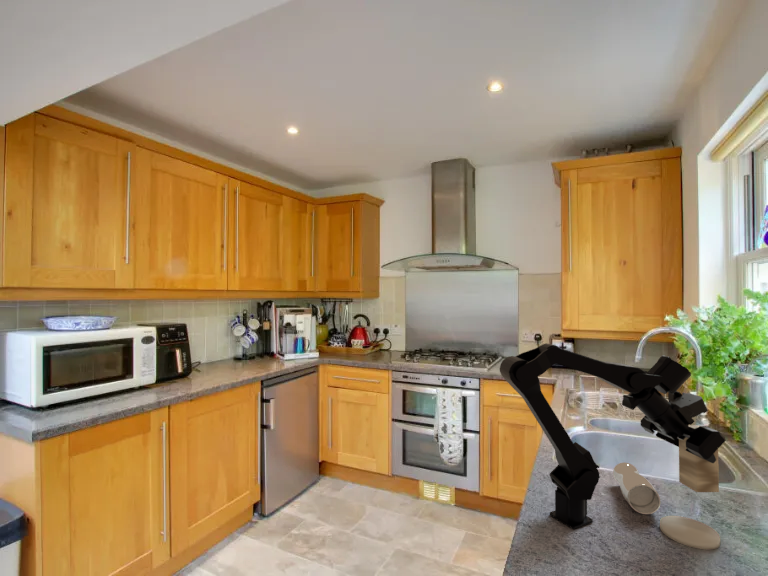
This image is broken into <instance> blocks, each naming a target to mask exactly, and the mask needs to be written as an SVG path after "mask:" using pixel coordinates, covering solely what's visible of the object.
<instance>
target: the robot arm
mask: <svg viewBox="0 0 768 576" xmlns="http://www.w3.org/2000/svg"><path fill="white" fill-rule="evenodd" d="M555 364H557V365H558V366H559V365H560V366H562V367H566V368H568V369H569V368H570V369H573V370H574V371H578V372H581V373H584V374H588V375H591V376H594V377H596V378H598V379H600V380H601V381H602V382H605V383H606V384H608V385H610V386H612V387H613V388H617V389H620V390H622V391H624V392H628V394H623V395H622V397H623V398H622V401H621V406H623V407H625V408H628V409H630V410H631V411H632V410H636V408H637V409H638V410H639V411H641V413H642V414H643V415H644V416H643V417H642V418H641V419H640V427H641V428H642V429H643V430H644V431H645V432H648V433H649V434H652V435H654V434H655V437H657V438H659V439H660V440H662V441H666V442H667V443H669V444H671V445H674V446H676V447H678V448H679V439H681V440H684V439H685V438H686V437H687V438H688V439H687V440H686V448H687V449H686V451H687V452H690V453H692V454H694V455H696V456H698V457H700V458H702V459H704V460H707V461H709V462H711V463H714V462H715V461H716V458H715V456H714V453H715V451H716V450H717V449H718V450H719V449H720V447H721V446H722V445H723V444H724V443H725V442H726V437H725V436H724V435H723V434H722V433H721V432H720V431H718V430H716V429H714V428H711V427H709V426H707V425H700V426H699V427H698V428H695V429H694V428H692V427H689V426H688V425H693V424H694V422H695V419H694V418H695V417H697V416H699V415H701V414H705V413H707V412H708V411H709V409H708V407H707V405H706V404H705V401H704V399H703V397H702V396H700V395H696V394H692V393H689V392H687V393H685V392H682V393H681V392H680V391H678V390H680V388H681V387H682V386H683V385H684V384H685V383H686V382H687V381H688V380H689V378H690V377H691V376H692V373H691V371H690V370H689V369H688V368H687V367H685V366H683V364H680V363H679V362H678V361H675V360H673V359H672V358H671V357H670V356H666V355H661V356H660V357H659V358H658V360H657V361H656V363H655V364H654V365H652V367H651V368H650V369H649V370H648V371H646V370H643V369H642V368H639V367H636V366H632V365H629V364H625V363H621V362H614V361H605V360H603V361H602V360H599V359H595V358H592V357H589V356H585V355H582V354H580V353H576V352H573V351H570V350H567V349H564V348H561V347H560V346H558V345H555V344H551V343H543V344H541V345H539V346H537V347H535V348H533V349H530V350H527V351H524V352H522V353H520V354H517V355H516V356H513V355H512V356H508V357H505V358H504V359H503V360H502V361H501V363H500V366H499V372H500V375H501V377H502V378H503V379H504V380H505V381H506V382H507V383H508V384H509V386H511V387H512V388H513V390H515V391H516V393H518V395H519V396H520V397H521V398H522V399H523V401H524V402H525V404H526V405H527V408H528V409H529V410H530V412H531V413H532V416H533V417H534V418H535V420H536V421H537V423H538V425H539V426H540V428H541V429H542V431H543V433H544V434H545V436H546V438H547V439H548V441H549V443H550V444H551V446H552V447H553V449H554V453H555V459H556V461H557V465H556V466H555V468H553V469H552V470H551V471H550V472H549V477H550V480H551V483H553V484H554V485H555V486H556V489H555V490H554V502H555V503H554V507H555V508H554V510H552V511H550V512H549V516H550V517H552V518H553V519H556V520H557V521H559V522H560V523H563V524H564V525H565V526H567V527H569V528H570V529H573V530H575V529H577V528H578V529H579V528H581V527H584V526H586V525H589V524H592V523H593V522H594V520H593V518H591V517H589V516H588V501H590V500H592V498H593V495H594V491H595V488H596V486H597V485H598V483H599V481H600V480H599V479H600V477H601V474H600V471H599V470H598V469H600V465H598V464H597V463H596V462H595V461H594V459H593V455H592V453H591V452H590V451H589V450H588V449H587V448H585V447H584V446H582V445H581V444H579V443H578V442H577V441H574V442H573V441H572V438H571V437H570V435H569V434H568V433H567V430H566V429H565V428H564V426H563V424H562V423H561V421H560V420H559V419H560V418H558V416H557V415H556V413H555V411H554V410H553V409H552V407H551V405H550V404H549V401H548V400H547V398H546V397H545V395H544V394H543V392H542V388H541V382H540V379H539V377H540V376H542V375H543V374H545V373H546V371H548V370H549V369H550V368H551V367H552V366H554V365H555ZM663 394H664V395H666V394H667V395H668V396H667V398H665V396H664V395H663ZM655 432H656V433H655Z"/></svg>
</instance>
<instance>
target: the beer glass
mask: <svg viewBox="0 0 768 576" xmlns="http://www.w3.org/2000/svg"><path fill="white" fill-rule="evenodd" d="M612 475H613V478H614V480H615V481H616V482H617V484H619V489H620V492H621V495H622V496H623V498H624V500H625V501H626V502H627V504H628V505H629V506H630V507H631V508H632V509H633V510H634V511H635V512H637V513H639V514H641V515H647V516H648V515H652V514H654V513H656V512H658V510H659V509H660V507H661V502H662V501H661V497H660V494H659V493H658V492H657V490H656V488H655V487H654V485H653V484H652V483H651V481H649V480H648V479H647V478H646V477H645V476H643V475H641V474H640V472H639V470H638V469H637V467H635V465H633V464H631V463H629V462H618V463H617V464H616V465H615V466H614V467H613V470H612Z"/></svg>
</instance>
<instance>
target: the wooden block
mask: <svg viewBox="0 0 768 576" xmlns="http://www.w3.org/2000/svg"><path fill="white" fill-rule="evenodd" d="M688 426H689V427H692V428H694V429H695V428H698V427H699V426H701V425H700V424H699V425H698V424H697V425H696V424H695V425H693V424H692V425H690V424H689V425H688ZM687 439H688V438H687V437H686V438H685V439H684V440H681V439H679V447H678V465H679V466H678V479H679V480H678V481H679V483H680V484H682V485H684V486H686V487H688V488H689V489H691V490H692V491H694V492H695V493H719V492H720V490H719V489H720V483H719V480H720V479H719V477H720V476H719V474H720V473H719V448H718V449H717V450H716V451H715V453H714V456H715V458H716V461H715V462H714V463H711V462H709V461H707V460H704V459H702V458H700V457H698V456H696V455H694V454H692V453H690V452H687V451H686V449H687V448H686V440H687Z"/></svg>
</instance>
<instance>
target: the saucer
mask: <svg viewBox="0 0 768 576" xmlns="http://www.w3.org/2000/svg"><path fill="white" fill-rule="evenodd" d="M659 528H660V531H661V532H662V533H663V534H664V535H665V536H666V537H668V538H669V539H670V540H673V541H675V542H676V543H679V544H681V545H684V546H687V547H690V548H694V549H698V550H707V551H708V550H716V549H719V548H720V547H721V536H720V534H719V533H718V531H717V530H715V529H714V528H713V527H712V526H710V525H708V524H706V523H703V522H702V521H699V520H696V519H693V518H689V517H686V516H681V515H667V516H666V515H665V516H663V517H661V518H660V520H659Z"/></svg>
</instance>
